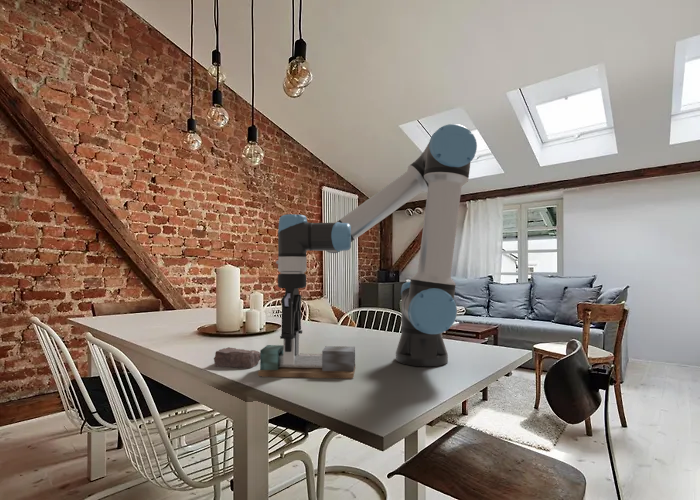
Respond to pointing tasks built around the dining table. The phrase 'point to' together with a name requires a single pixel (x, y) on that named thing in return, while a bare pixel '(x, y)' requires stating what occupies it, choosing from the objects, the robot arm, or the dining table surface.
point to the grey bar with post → (302, 358)
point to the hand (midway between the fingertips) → (291, 361)
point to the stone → (236, 358)
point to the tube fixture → (333, 366)
